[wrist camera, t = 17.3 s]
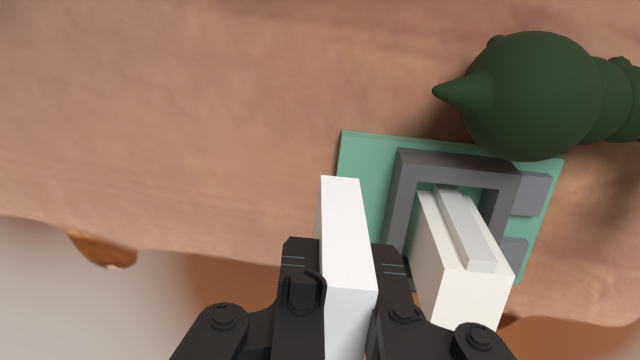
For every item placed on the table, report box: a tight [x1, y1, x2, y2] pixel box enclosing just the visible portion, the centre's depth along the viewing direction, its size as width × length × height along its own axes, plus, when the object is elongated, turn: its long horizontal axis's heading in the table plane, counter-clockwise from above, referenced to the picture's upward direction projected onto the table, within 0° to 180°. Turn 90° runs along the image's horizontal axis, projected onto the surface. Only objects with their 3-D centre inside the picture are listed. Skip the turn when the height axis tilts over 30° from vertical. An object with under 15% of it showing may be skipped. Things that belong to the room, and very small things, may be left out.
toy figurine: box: [432, 31, 640, 162], centre depth 32 cm, size 9×19×25 cm
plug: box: [404, 183, 515, 332], centre depth 39 cm, size 5×7×12 cm
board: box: [336, 130, 565, 292], centre depth 44 cm, size 20×14×5 cm
